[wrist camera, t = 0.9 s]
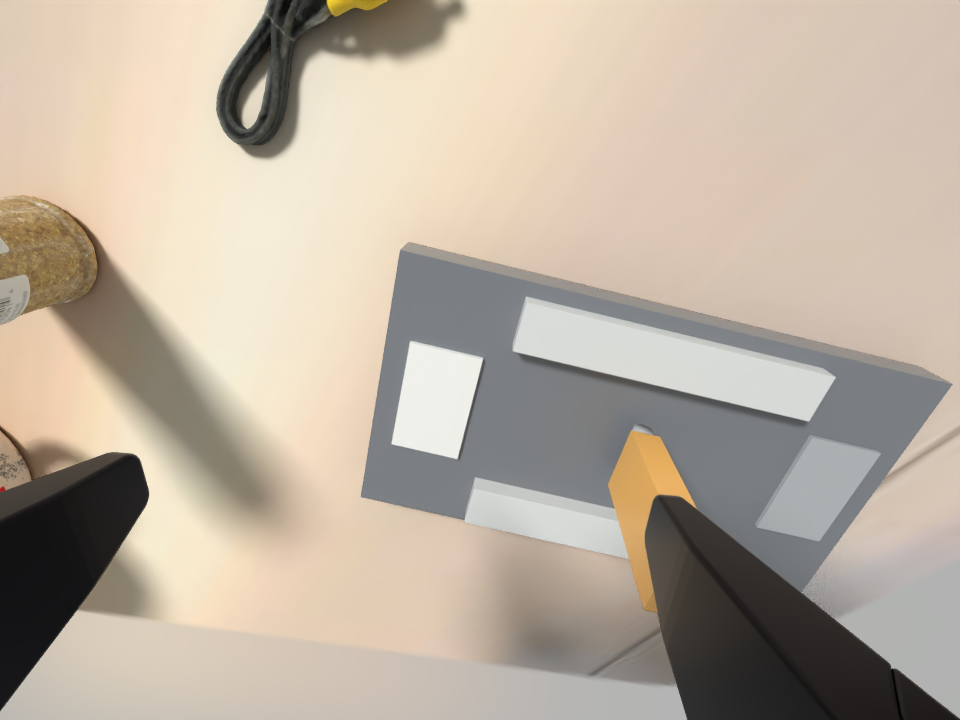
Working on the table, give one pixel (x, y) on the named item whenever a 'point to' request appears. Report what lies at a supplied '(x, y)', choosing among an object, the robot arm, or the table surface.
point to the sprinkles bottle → (41, 257)
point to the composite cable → (273, 62)
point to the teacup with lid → (11, 465)
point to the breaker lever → (642, 498)
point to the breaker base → (625, 412)
